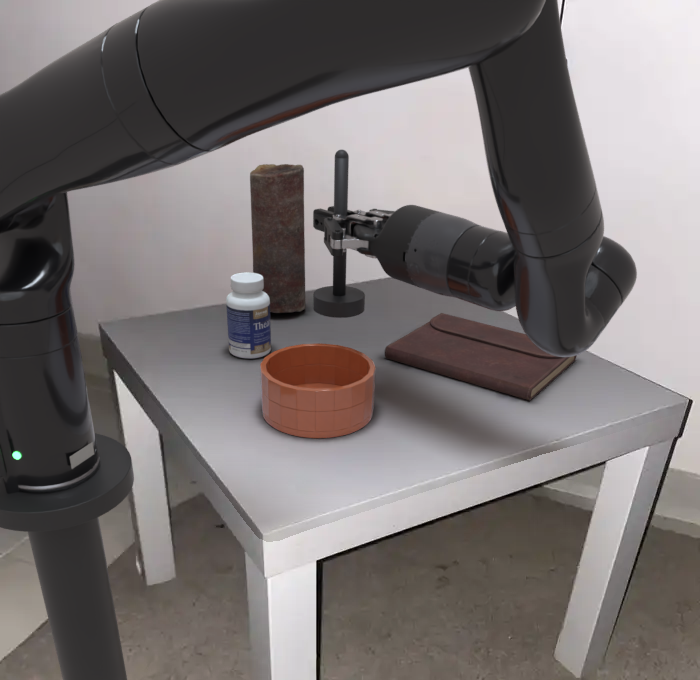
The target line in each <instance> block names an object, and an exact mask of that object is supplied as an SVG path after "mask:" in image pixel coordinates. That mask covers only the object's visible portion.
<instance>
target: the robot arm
mask: <svg viewBox="0 0 700 680" xmlns="http://www.w3.org/2000/svg"><path fill="white" fill-rule="evenodd" d="M465 69H468V72H469V76H470V80H471V84H472V87H473V92H474V95H475V96H474V97H475V101H476V102H475V103H476V106H477V113H478V117H479V123H480V129H481V135H482V141H483V148H484V155H485V160H486V161H485V162H486V166H487V167H486V168H487V171H488V176H489V181H490V185H491V189H492V192H493V195H494V200H495V202H496V205H497V209H498V212H499V215H500V217H501V221H502V223H503V225H504V228H505V229H506V230H505V231H502V230H499V229H495V228H491V227H487V226H484V225H481V224H478V223H475V222H473V221H472V220H469V219H467V218H465V217H461V216H457V215H455V214H454V215H453V214H450V213H446V212H443V211H438V210H435V209H431V208H428V207H423V206H421V205H416V204H406V205H403V206H401V207H399V208H397V209H396V210H386V209H377V208H372V209H369V211H364V210H361V209H356V210H350V209H348V211H347V216H345V215H341V214H337V213H334V205H331V206H328V207H327V209H323V208H320V207H319V208H315V209H313V212H312V228H314V229H315V230H316V231H320V232H323V235H324V236H323V244H324V245H325V247H326V248H327V251H328V252H329V254H330V255H331V256H332V257H333V256H335V257H339V256H343V252H345V250H346V249H350V250H352V251H356V252H358V253H359V254H361V255H364V256H365V257H367V258H371V259H376V260H377V261H378V263H379V265H380V267H381V269H382V270H383V271H384V273H385V274H386V275H387V276H388V277H391V278H392V279H395V280H397V281H400V282H403V283H406V284H408V285H411V286H414V287H416V288H419V289H423V290H426V291H428V292H431V293H434V294H437V295H439V296H444V297H450V298H456V299H459V300H462V301H463V302H467V303H470V304H473V305H476V306H479V307H481V308H484V309H487V310H490V311H495V312H506V311H509V310H512V309H513V308H515V310H516V315H517V319H518V322H519V324H520V326H521V329H522V331H523V333H524V334H526V335H527V337H528V338H529V339H530V340H531V342H532V343H533V344H534V345H535V346H537V347H538V348H539V349H541V350H542V351H544V352H546V353H548V354H550V355H553V356H558V357H572V356H576V355H577V356H579V355H581V354H583V353H585V352H586V351H588V350H589V349H590V348H591V347H592V346H593V345H594V343H595V342H596V341H597V340H598V339H599V338H600V336H601V335H602V333H603V332H604V330H605V329H606V328H607V326H608V325H609V323H610V322H611V320H613V317H614V316H615V315H616V313H617V312H618V310H619V309H620V308H621V307H622V305H623V304H624V302H625V301H626V300H627V298H628V297H629V296H630V294H631V292H632V291H633V289H634V287H635V285H636V282H637V278H638V276H637V275H638V270H637V265H636V262H635V260H634V259H633V257H632V255H631V253H630V252H629V251H628V250H627V249H626V248H625V247H624V246H623V245H621V243H618V242H617V241H616V240H614V239H612V238H610V237H607V236H605V220H604V219H605V217H604V214H603V210H602V209H603V208H602V204H601V199H600V196H599V190H598V187H597V183H596V178H595V174H594V170H593V167H592V161H591V158H590V154H589V150H588V146H587V142H586V138H585V135H584V130H583V127H582V122H581V119H580V113H579V111H578V105H577V102H576V98H575V94H574V88H573V85H572V84H573V83H572V81H571V76H570V71H569V66H568V60H567V55H566V51H565V44H564V38H563V30H562V24H561V17H560V10H559V2H558V0H157V1H155V2H153V3H151V4H150V5H148V6H146V7H144V8H142V9H141V10H139V11H136V12H135V13H133V14H131V15H129V16H128V17H126V18H124V19H123V20H120V21H118V22H116V23H115V24H113V25H112V26H110V27H108V28H107V29H105V30H104V31H102V32H101V33H99V34H97V35H95V36H94V37H92V38H91V39H89V40H88V41H86V42H84V43H82V44H80V45H79V46H77V47H76V48H74V49H72V50H71V51H69V52H67V53H66V54H64V55H62V56H60V57H58V58H56V59H55V60H53V61H52V62H50V63H48V64H47V65H46V66H44V67H42V68H41V69H39V70H37V72H35V73H33V74H31V75H30V76H29V77H28V78H27V77H26V79H24V80H23V81H21V82H20V83H18V84H17V85H14V87H11V88H10V89H9V90H6V91H5V92H2V93H0V477H2V479H3V481H4V484H5V488H6V492H7V493H8V494H11V493H15V492H24V493H33V494H43V493H53V492H58V491H63V490H66V489H70V488H73V487H75V486H78V485H80V484H82V483H84V482H85V481H87V480H88V479H90V478H91V477H92V476H93V475H94V474H95V473H96V472H97V471H98V469H99V467H100V457H99V453H98V451H97V443H96V440H95V434H94V433H95V428H94V422H93V417H92V410H91V405H90V398H89V392H88V387H87V380H86V375H85V368H84V363H83V358H82V351H81V350H82V349H81V345H80V339H79V334H78V328H77V327H78V326H77V320H76V315H75V309H74V304H73V299H72V298H73V297H72V291H71V285H72V280H73V277H74V274H75V266H76V265H75V261H76V260H75V250H74V242H73V232H72V222H71V214H70V213H71V212H70V203H69V195H68V192H72V191H77V190H82V189H88V188H92V187H93V188H94V187H99V186H102V185H108V184H112V183H116V182H120V181H125V180H129V179H133V178H134V179H135V178H137V177H141V176H145V175H148V174H152V173H156V172H160V171H162V170H166V169H169V168H173V167H176V166H178V165H181V164H184V163H186V162H189V161H192V160H194V159H197V158H199V157H203V156H204V155H206V154H209V153H212V152H215V151H217V150H220V149H222V148H225V147H227V146H229V145H231V144H233V143H235V142H237V141H240V140H241V139H244V138H247V137H248V136H251V135H253V134H256V133H259V132H261V131H265V130H268V129H270V128H272V127H276V126H278V125H281V124H284V123H286V122H289V121H293V120H294V119H295V120H296V119H297V118H300V117H302V116H305V115H308V114H310V113H313V112H315V111H319V110H321V109H323V108H326V107H329V106H331V105H334V104H339V103H341V102H345V101H347V100H348V101H349V100H352V99H355V98H359V97H364V96H366V95H370V94H374V93H378V92H382V91H386V90H390V89H394V88H397V87H402V86H406V85H410V84H414V83H418V82H422V81H426V80H429V79H430V80H431V79H433V78H438V77H441V76H444V75H445V76H446V75H449V74H452V73H455V72H458V71H459V72H460V71H462V70H465ZM344 224H345V225H346V228H344ZM577 356H576V357H577Z"/></svg>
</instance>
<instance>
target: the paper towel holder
mask: <svg viewBox="0 0 700 680" xmlns="http://www.w3.org/2000/svg"><path fill="white" fill-rule="evenodd" d="M349 161H350V156H349V153H348V151H346V150H345V149H339V150H337V151H336V152H335V154H334V173H333V174H334V175H333V176H334V177H333V178H334V179H333V206H334V213H337V214H341V215H345V216H347V211H348V210H349V208H348V207H349V166H350V165H349V163H350V162H349ZM344 228H346V225H345V224H344ZM347 254H348V253H347V249H346V250H345V252H343V256H339V257H335V256H332V285H329V286H328V285H327V286H322V287H319V288H317V289H315V290H314V291H313V293H312V294H313V296H312V297H313V298H312V299H313V300H312V301H313V305H312V306H313V307H312V309H313V311H314V313H317V314H318V315H320V316H323V317H328V318H335V319H336V318H337V319H344V318H352V317H353V318H354V317H357V316H359V315H361V314H363V313H364V312H365V304H366V301H365V300H366V294H365V292H364V291H363V290H361V289H359V288H356V287H352V286H348V285H347Z"/></svg>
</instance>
